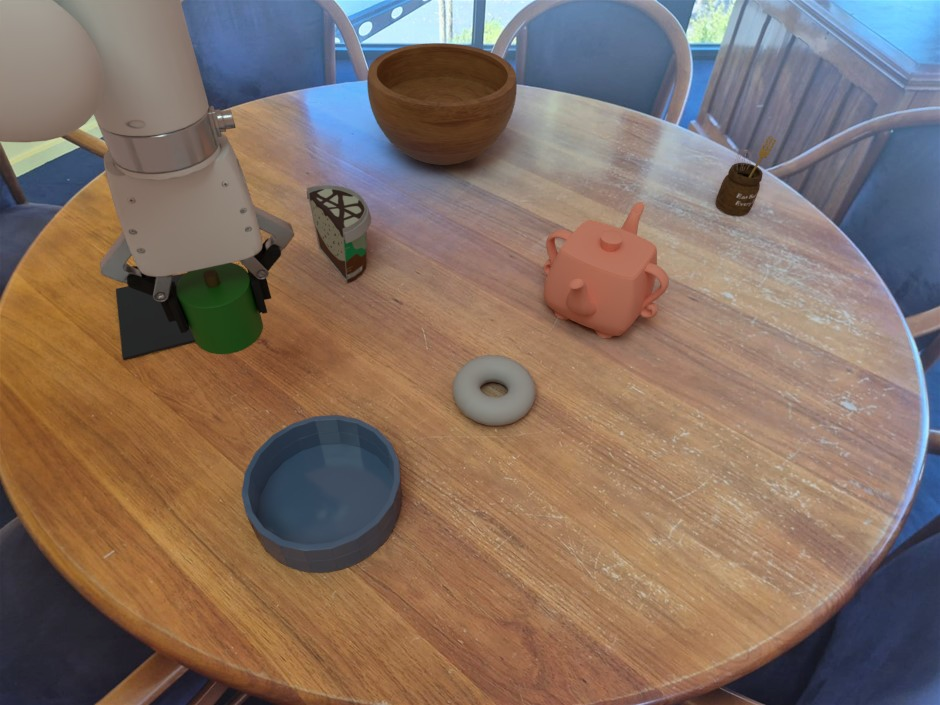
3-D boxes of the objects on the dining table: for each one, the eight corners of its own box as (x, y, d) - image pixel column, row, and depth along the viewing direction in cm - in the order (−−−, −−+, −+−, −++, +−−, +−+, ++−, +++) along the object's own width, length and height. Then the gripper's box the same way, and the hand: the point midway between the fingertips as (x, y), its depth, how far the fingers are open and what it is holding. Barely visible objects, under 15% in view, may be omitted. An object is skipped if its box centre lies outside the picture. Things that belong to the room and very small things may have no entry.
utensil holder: (706, 202, 106) (731, 137, 97) (732, 193, 109) (758, 129, 100) (732, 220, 103) (759, 155, 94) (758, 211, 105) (788, 145, 96)
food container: (390, 274, 90) (386, 216, 83) (352, 289, 88) (344, 231, 80) (351, 231, 97) (344, 174, 90) (315, 243, 94) (305, 186, 87)
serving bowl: (271, 598, 58) (259, 575, 54) (241, 468, 67) (229, 442, 63) (423, 538, 62) (422, 514, 59) (375, 425, 72) (372, 398, 68)
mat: (123, 360, 77) (122, 358, 77) (116, 290, 86) (115, 288, 85) (223, 334, 81) (222, 332, 80) (207, 270, 89) (206, 268, 89)
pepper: (198, 362, 57) (175, 304, 52) (191, 317, 61) (168, 259, 56) (269, 344, 59) (252, 287, 54) (256, 302, 63) (240, 245, 58)
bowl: (409, 207, 102) (406, 119, 91) (352, 138, 116) (343, 56, 105) (536, 172, 111) (547, 89, 100) (468, 113, 125) (471, 34, 114)
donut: (545, 385, 77) (473, 356, 80) (550, 367, 75) (475, 338, 77) (514, 445, 71) (437, 411, 73) (517, 427, 68) (437, 393, 71)
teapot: (556, 357, 80) (572, 282, 71) (527, 274, 91) (537, 201, 82) (665, 346, 82) (694, 272, 73) (624, 267, 93) (644, 194, 84)
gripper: (271, 97, 50) (305, 269, 64) (31, 130, 45) (122, 310, 58) (291, 141, 46) (323, 316, 59) (26, 183, 41) (126, 365, 54)
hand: (222, 312), depth 59 cm, fingers closed on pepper, 6 cm apart
